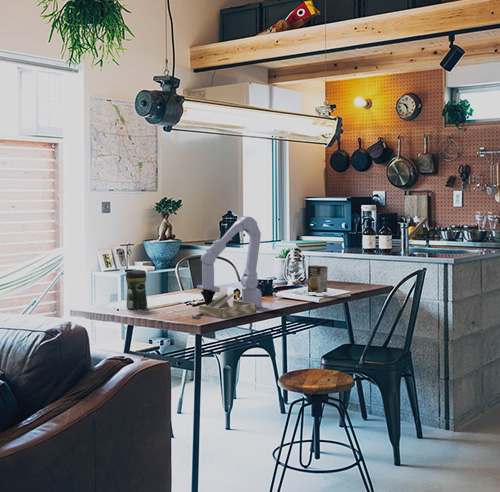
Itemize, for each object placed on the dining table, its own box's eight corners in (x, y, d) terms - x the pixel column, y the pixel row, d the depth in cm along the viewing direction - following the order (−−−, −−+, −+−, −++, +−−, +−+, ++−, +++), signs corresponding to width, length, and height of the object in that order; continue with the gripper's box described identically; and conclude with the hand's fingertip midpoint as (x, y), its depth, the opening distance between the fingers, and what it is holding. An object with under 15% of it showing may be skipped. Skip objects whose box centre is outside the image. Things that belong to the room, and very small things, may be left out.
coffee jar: (140, 306, 339) (139, 268, 338) (149, 308, 333) (149, 270, 332) (123, 308, 332) (122, 270, 331) (132, 310, 327) (132, 271, 325)
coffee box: (307, 295, 375) (307, 265, 373) (315, 294, 379) (315, 265, 378) (319, 297, 368) (319, 267, 367) (327, 295, 372) (327, 266, 371)
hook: (201, 315, 313) (201, 312, 313) (207, 315, 312) (207, 313, 311) (191, 318, 304) (191, 316, 304) (198, 319, 303) (198, 316, 303)
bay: (234, 308, 331) (234, 300, 331) (256, 312, 320) (256, 303, 320) (199, 313, 316) (199, 305, 316) (220, 317, 305) (220, 309, 305)
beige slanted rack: (225, 324, 312) (245, 300, 318) (213, 310, 309) (233, 287, 316) (209, 324, 326) (228, 301, 332) (197, 311, 324) (217, 288, 330)
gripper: (191, 276, 330) (192, 304, 331) (211, 279, 319) (211, 308, 320) (203, 275, 334) (203, 303, 335) (223, 277, 324) (223, 306, 325)
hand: (208, 305), depth 328 cm, fingers closed
